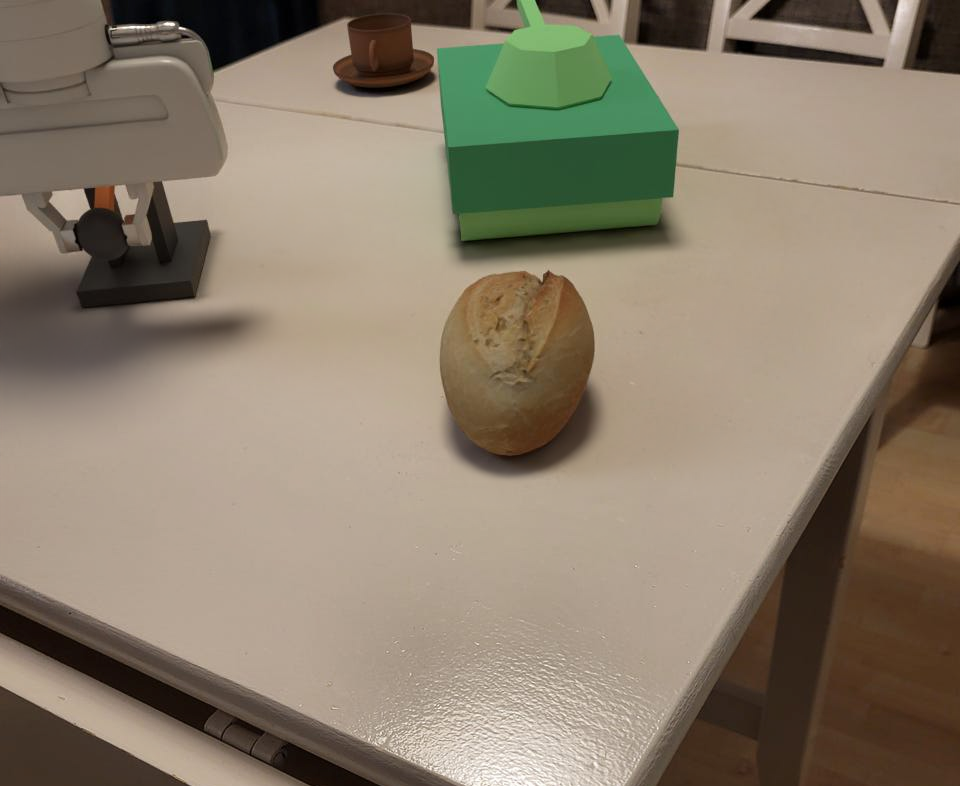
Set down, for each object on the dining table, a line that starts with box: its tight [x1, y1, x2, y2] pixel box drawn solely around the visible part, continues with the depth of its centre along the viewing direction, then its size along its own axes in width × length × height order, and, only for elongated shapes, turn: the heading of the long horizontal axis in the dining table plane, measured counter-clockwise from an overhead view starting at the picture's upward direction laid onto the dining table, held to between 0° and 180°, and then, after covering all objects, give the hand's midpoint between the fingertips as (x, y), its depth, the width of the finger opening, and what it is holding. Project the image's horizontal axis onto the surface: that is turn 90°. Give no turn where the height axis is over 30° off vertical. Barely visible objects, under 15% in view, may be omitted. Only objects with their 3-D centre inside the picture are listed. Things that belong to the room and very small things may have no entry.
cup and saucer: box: [332, 12, 435, 89], centre depth 114 cm, size 12×12×6 cm
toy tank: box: [436, 0, 680, 242], centre depth 88 cm, size 18×12×35 cm
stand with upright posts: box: [75, 181, 211, 308], centre depth 77 cm, size 12×9×13 cm
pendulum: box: [76, 186, 128, 261], centre depth 72 cm, size 13×4×4 cm, turn 5°
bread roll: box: [439, 269, 596, 457], centre depth 61 cm, size 10×15×8 cm, turn 178°
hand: (106, 246), depth 71 cm, fingers closed on pendulum, 3 cm apart
